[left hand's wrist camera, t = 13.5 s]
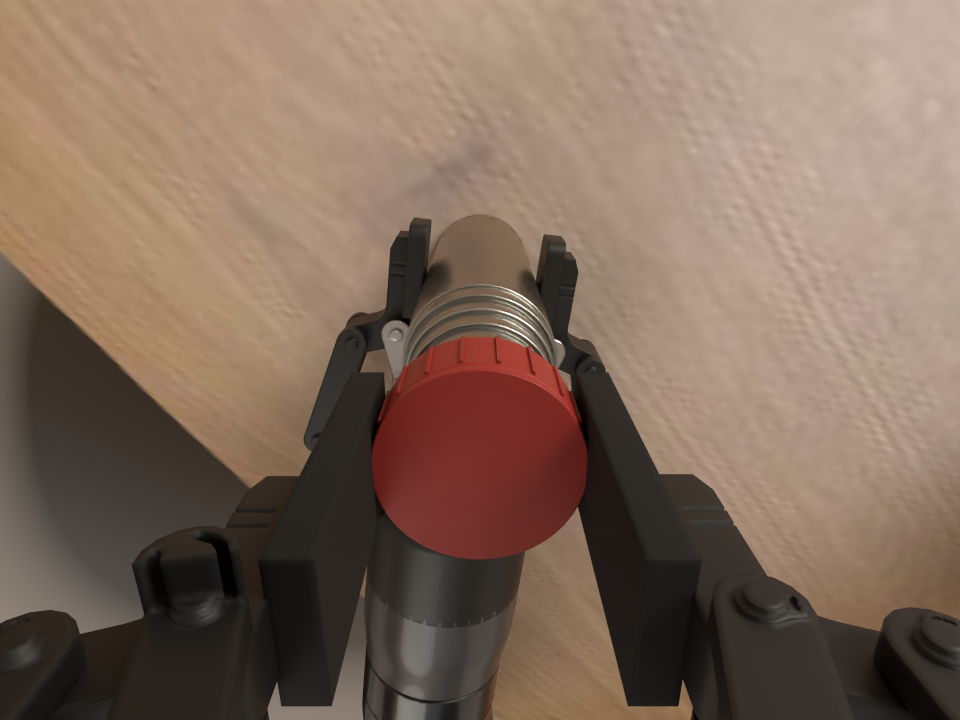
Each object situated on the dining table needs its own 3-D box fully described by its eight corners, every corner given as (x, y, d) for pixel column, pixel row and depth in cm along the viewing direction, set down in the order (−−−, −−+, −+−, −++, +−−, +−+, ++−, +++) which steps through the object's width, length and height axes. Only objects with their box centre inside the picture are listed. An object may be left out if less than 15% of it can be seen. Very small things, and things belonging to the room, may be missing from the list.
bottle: (513, 204, 31) (564, 334, 12) (534, 292, 32) (607, 525, 14) (422, 228, 31) (339, 389, 13) (448, 314, 33) (407, 569, 14)
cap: (534, 301, 14) (543, 331, 12) (604, 468, 15) (622, 519, 13) (347, 378, 14) (328, 418, 12) (433, 531, 16) (426, 588, 14)
